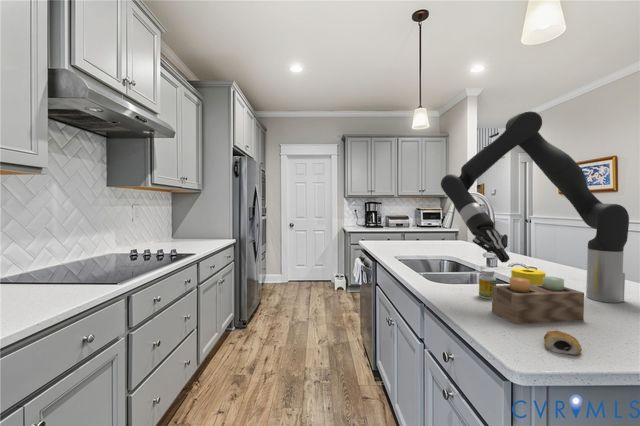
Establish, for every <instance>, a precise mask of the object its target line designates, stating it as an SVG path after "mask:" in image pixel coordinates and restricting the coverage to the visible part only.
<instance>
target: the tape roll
mask: <svg viewBox="0 0 640 426" xmlns="http://www.w3.org/2000/svg"><path fill="white" fill-rule="evenodd" d="M543 277H546V272H545V271H542V270H539V269H536V268H535V269H534V268H523V267H515V268H511V276H510V278H524V279H528V280H530V285H532V284H543Z"/></svg>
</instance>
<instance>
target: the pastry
mask: <svg viewBox="0 0 640 426" xmlns="http://www.w3.org/2000/svg"><path fill="white" fill-rule="evenodd" d="M543 340H544V344H543V345H544V347H545V349H546V350H547V351H550V352H554V353H558V354H566V355H570V356H578V355H580V354H581V352H582V346H581V344H580V342H579V341H578V339H577V338H576V337H574V336H573V335H571V334H570V333H567V332H563V331H561V330H557V329H555V330H548V331H547V332H546V333H545V335H544V336H543Z"/></svg>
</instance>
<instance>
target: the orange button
mask: <svg viewBox="0 0 640 426" xmlns="http://www.w3.org/2000/svg"><path fill="white" fill-rule="evenodd" d="M509 285H510V289H511V290H513V291H517V292H530V280H528V279H524V278H511V277H510V278H509Z"/></svg>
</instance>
